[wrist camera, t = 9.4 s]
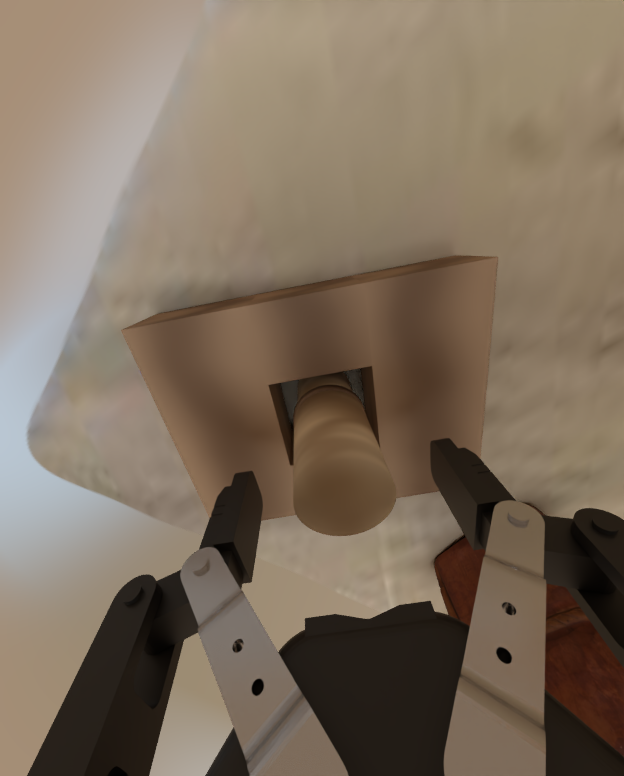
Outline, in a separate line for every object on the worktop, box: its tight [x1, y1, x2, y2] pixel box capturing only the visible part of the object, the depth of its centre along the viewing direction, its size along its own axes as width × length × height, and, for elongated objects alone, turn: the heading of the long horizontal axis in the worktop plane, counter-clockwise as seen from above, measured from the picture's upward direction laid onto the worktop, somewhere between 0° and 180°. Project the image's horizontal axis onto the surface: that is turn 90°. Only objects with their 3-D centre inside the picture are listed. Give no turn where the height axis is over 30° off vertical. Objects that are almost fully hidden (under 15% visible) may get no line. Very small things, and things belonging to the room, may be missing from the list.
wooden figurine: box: [435, 505, 624, 756], centre depth 20 cm, size 12×6×18 cm, turn 142°
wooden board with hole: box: [121, 256, 498, 521], centre depth 18 cm, size 18×14×4 cm
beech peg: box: [293, 371, 396, 536], centre depth 16 cm, size 4×4×10 cm
